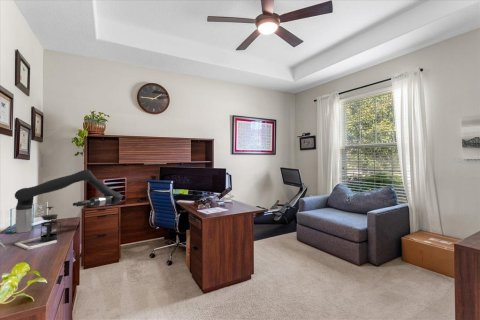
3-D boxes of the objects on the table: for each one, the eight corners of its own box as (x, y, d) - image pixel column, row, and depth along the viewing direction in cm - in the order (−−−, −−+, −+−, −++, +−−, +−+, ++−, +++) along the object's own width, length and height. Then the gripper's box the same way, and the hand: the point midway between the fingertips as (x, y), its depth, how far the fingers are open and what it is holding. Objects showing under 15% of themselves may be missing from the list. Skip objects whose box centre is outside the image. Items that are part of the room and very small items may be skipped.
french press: (37, 243, 152) (38, 208, 153) (40, 239, 160) (41, 206, 161) (59, 240, 159) (60, 207, 159) (61, 236, 167) (62, 204, 167)
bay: (14, 244, 150) (14, 242, 150) (43, 237, 164) (43, 236, 164) (27, 249, 142) (27, 247, 142) (56, 242, 155) (56, 240, 155)
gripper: (92, 196, 192) (69, 199, 177) (103, 197, 185) (80, 200, 170) (92, 205, 192) (69, 208, 176) (102, 207, 185) (80, 210, 170)
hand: (74, 204), depth 173 cm, fingers open, 4 cm apart
